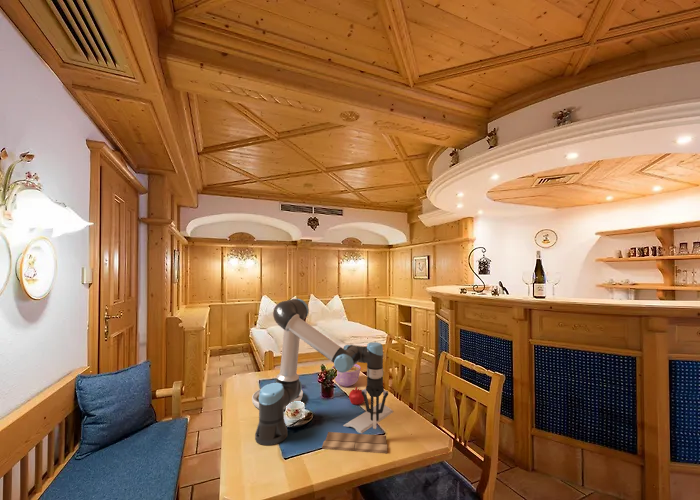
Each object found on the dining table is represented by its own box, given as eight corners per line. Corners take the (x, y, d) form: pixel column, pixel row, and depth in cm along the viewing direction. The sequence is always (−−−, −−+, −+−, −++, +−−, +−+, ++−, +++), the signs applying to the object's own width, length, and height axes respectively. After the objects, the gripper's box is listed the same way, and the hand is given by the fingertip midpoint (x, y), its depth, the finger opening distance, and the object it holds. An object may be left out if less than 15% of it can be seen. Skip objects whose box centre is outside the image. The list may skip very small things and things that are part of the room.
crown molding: (361, 434, 154) (361, 427, 154) (342, 426, 162) (342, 419, 162) (393, 412, 176) (393, 406, 177) (375, 406, 184) (375, 400, 184)
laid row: (322, 448, 142) (322, 446, 142) (324, 442, 146) (324, 440, 146) (387, 453, 138) (387, 450, 138) (387, 447, 142) (387, 444, 142)
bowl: (240, 408, 182) (241, 395, 183) (271, 389, 210) (271, 377, 210) (285, 417, 171) (285, 402, 172) (311, 395, 199) (311, 383, 200)
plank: (325, 442, 147) (325, 439, 147) (328, 434, 153) (328, 431, 152) (386, 446, 143) (386, 443, 143) (386, 437, 149) (386, 435, 149)
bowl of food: (366, 382, 221) (365, 365, 221) (351, 392, 203) (351, 374, 204) (342, 377, 231) (341, 361, 231) (326, 386, 214) (326, 369, 214)
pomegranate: (365, 406, 184) (365, 390, 184) (348, 406, 184) (348, 390, 184) (365, 399, 193) (365, 383, 194) (349, 398, 194) (349, 383, 194)
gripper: (360, 378, 146) (360, 430, 146) (388, 380, 145) (388, 432, 144) (362, 372, 154) (361, 422, 153) (388, 374, 152) (388, 424, 151)
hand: (374, 427), depth 148 cm, fingers closed
